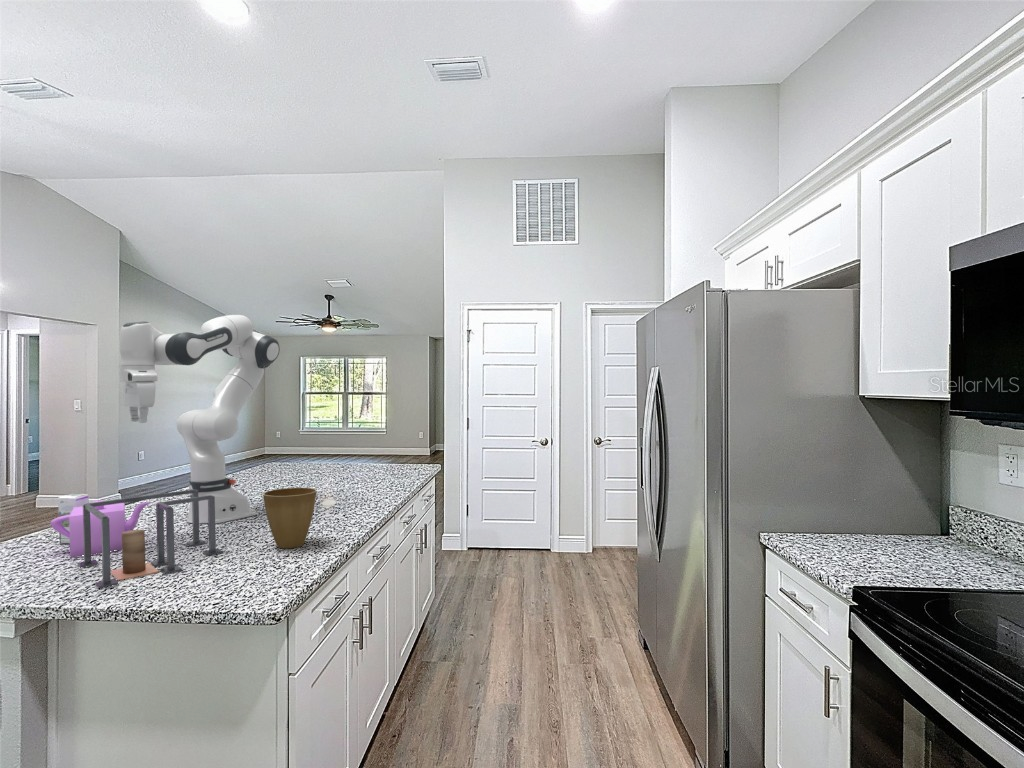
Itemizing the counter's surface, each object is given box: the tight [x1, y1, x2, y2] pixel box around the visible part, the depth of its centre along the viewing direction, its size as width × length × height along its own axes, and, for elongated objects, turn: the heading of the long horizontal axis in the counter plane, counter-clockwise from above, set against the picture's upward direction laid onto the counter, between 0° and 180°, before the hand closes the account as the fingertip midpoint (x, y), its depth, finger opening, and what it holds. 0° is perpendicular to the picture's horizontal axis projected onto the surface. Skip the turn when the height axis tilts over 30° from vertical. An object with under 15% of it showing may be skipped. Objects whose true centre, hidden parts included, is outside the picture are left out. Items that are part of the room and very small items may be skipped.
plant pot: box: [262, 487, 317, 549], centre depth 177 cm, size 15×15×16 cm
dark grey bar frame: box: [76, 489, 223, 589], centre depth 162 cm, size 31×27×16 cm
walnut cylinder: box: [121, 529, 147, 574], centre depth 154 cm, size 5×5×10 cm
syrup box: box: [57, 493, 90, 545], centre depth 185 cm, size 6×6×14 cm
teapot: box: [50, 500, 152, 558], centre depth 178 cm, size 15×25×14 cm, turn 122°
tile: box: [110, 562, 160, 582], centre depth 154 cm, size 9×10×1 cm
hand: (138, 422), depth 178 cm, fingers open, 8 cm apart
